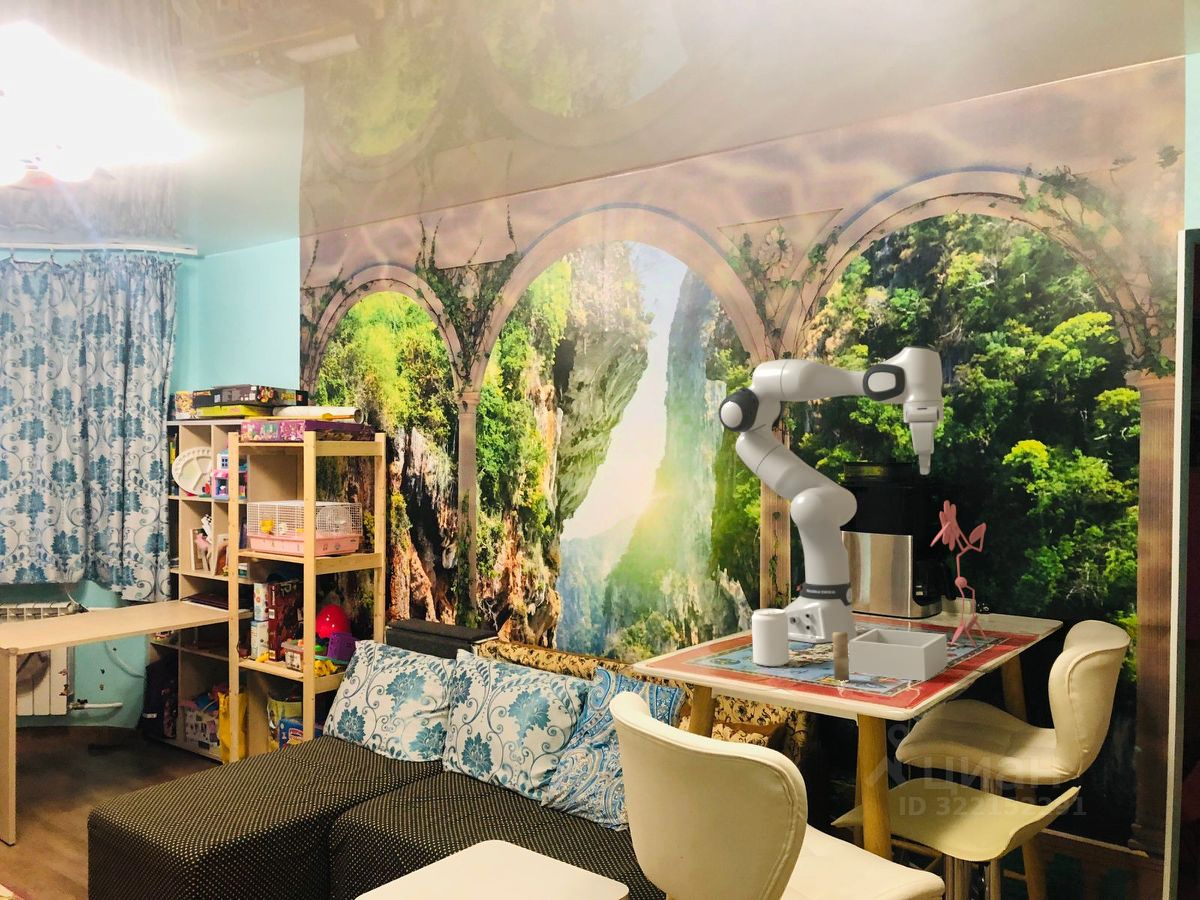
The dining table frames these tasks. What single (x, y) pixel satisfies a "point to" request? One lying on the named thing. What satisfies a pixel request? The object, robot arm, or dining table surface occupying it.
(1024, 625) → the dining table surface
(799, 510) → the robot arm
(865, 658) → the peg box
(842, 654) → the peg
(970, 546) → the pink stick figurine
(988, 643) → the dining table surface
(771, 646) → the beverage can
